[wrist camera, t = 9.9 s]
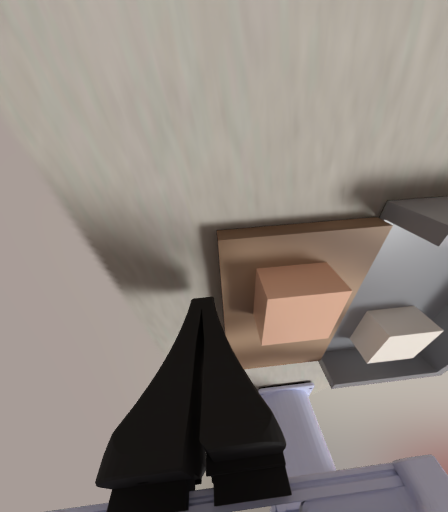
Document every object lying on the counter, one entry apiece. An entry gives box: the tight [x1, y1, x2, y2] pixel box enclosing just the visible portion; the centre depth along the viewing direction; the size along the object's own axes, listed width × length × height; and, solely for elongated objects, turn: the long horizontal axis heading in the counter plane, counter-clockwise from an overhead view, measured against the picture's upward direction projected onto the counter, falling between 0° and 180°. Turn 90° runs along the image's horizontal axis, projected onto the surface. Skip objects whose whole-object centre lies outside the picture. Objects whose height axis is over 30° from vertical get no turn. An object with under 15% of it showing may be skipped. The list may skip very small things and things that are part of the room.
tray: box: [318, 196, 448, 389], centre depth 15 cm, size 18×12×4 cm, turn 3°
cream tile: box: [350, 306, 444, 364], centre depth 17 cm, size 4×4×2 cm
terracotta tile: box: [253, 262, 352, 346], centre depth 12 cm, size 4×4×2 cm
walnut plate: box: [217, 217, 393, 369], centre depth 15 cm, size 16×10×1 cm, turn 3°
